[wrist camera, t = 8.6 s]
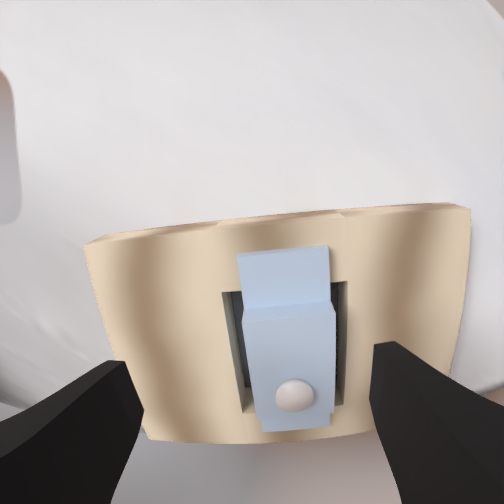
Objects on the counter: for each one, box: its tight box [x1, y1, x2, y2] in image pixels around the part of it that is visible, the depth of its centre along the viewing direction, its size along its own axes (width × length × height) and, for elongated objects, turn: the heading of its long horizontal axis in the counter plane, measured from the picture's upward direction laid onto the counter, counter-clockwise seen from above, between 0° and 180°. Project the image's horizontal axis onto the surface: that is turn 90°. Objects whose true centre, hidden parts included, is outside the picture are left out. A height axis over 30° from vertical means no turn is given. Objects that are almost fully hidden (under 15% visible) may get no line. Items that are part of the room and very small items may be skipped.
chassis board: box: [84, 202, 471, 444], centre depth 17 cm, size 20×14×2 cm
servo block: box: [237, 245, 336, 432], centre depth 16 cm, size 4×11×5 cm, turn 7°
